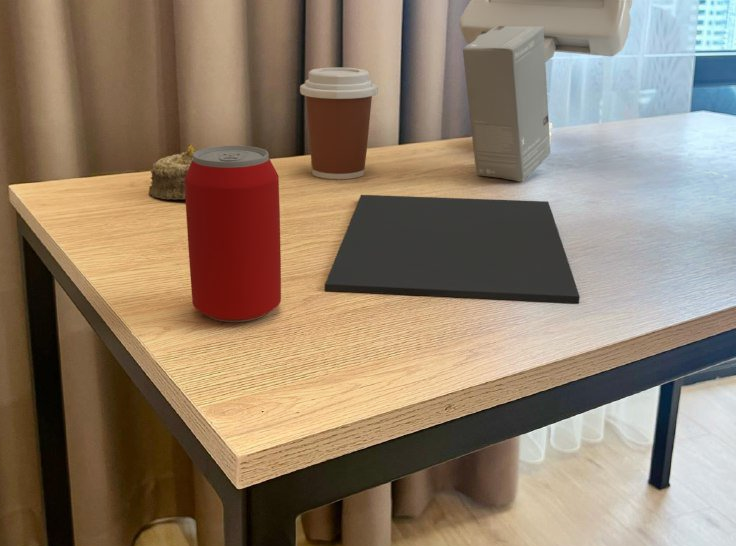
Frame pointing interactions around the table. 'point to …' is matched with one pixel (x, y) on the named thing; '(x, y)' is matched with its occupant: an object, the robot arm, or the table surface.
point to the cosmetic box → (508, 101)
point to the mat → (453, 250)
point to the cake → (171, 175)
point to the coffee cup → (338, 120)
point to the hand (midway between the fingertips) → (521, 73)
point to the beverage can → (233, 232)
